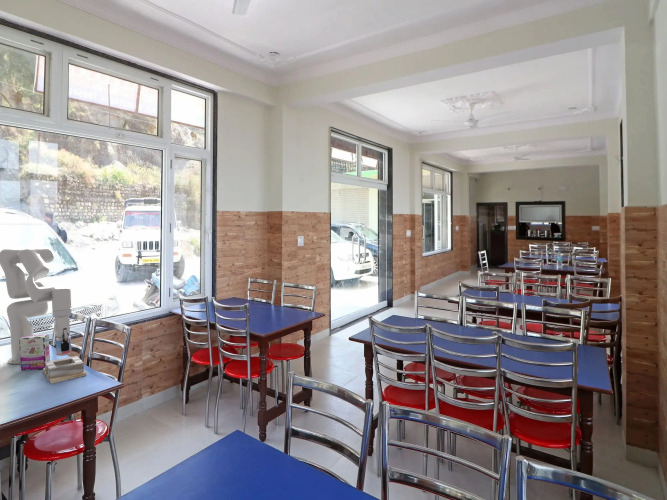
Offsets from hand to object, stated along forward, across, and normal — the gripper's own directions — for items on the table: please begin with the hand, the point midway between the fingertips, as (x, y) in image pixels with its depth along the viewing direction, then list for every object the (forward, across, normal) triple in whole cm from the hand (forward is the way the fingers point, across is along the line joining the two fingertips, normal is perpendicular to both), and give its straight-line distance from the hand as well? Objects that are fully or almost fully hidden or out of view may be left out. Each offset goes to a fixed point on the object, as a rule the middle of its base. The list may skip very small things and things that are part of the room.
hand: (63, 348), depth 189 cm
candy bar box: (+12, -18, -9) cm, 24 cm away
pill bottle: (+3, 0, 0) cm, 3 cm away
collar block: (+12, 0, 0) cm, 12 cm away
